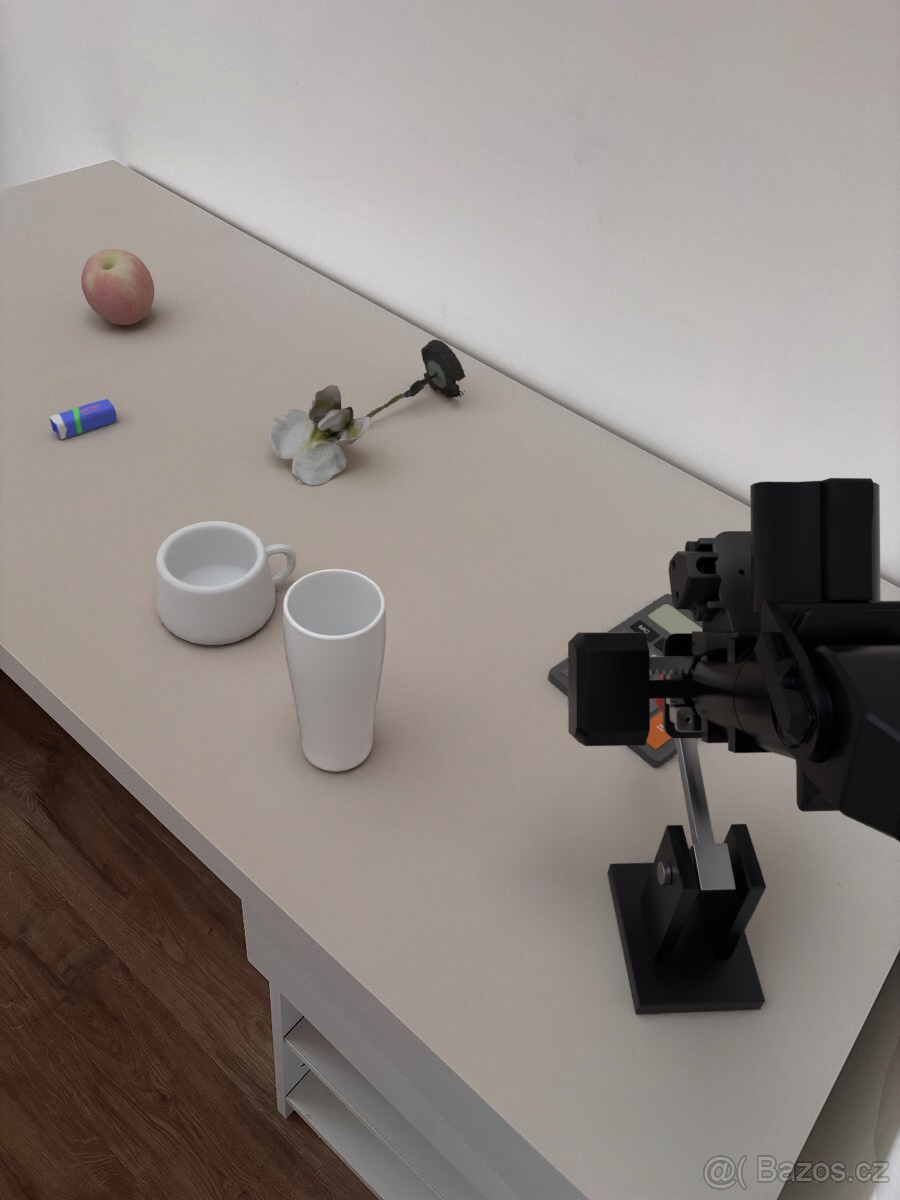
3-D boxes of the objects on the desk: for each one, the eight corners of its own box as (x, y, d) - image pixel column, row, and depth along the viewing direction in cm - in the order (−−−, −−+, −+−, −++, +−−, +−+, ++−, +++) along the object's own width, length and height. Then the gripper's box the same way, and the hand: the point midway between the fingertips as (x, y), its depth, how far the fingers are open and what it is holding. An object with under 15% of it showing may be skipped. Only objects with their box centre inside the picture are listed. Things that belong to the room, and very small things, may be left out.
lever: (644, 682, 72) (655, 660, 69) (689, 681, 72) (703, 659, 70) (679, 903, 64) (694, 888, 62) (730, 901, 65) (747, 886, 62)
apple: (77, 313, 121) (64, 247, 116) (140, 297, 125) (130, 232, 119) (106, 345, 117) (94, 277, 111) (170, 327, 120) (161, 261, 115)
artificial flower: (477, 421, 113) (495, 357, 105) (303, 517, 104) (307, 455, 95) (426, 366, 116) (439, 299, 107) (252, 455, 107) (251, 390, 98)
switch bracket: (607, 872, 73) (633, 787, 66) (720, 869, 73) (757, 785, 67) (635, 1014, 65) (668, 935, 59) (760, 1009, 66) (807, 930, 59)
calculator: (547, 669, 84) (668, 590, 92) (546, 677, 85) (666, 598, 93) (658, 761, 78) (778, 668, 86) (656, 768, 79) (774, 676, 87)
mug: (179, 664, 84) (170, 610, 80) (143, 588, 90) (133, 534, 86) (319, 620, 88) (318, 566, 84) (276, 550, 94) (273, 497, 90)
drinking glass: (395, 726, 81) (402, 582, 70) (361, 795, 76) (363, 651, 66) (313, 701, 82) (308, 556, 72) (275, 766, 77) (263, 621, 67)
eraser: (52, 431, 105) (48, 414, 103) (110, 414, 108) (107, 397, 106) (59, 441, 104) (55, 424, 102) (118, 424, 106) (115, 407, 105)
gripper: (967, 534, 53) (827, 552, 69) (602, 532, 51) (543, 551, 67) (969, 756, 53) (829, 724, 68) (603, 762, 51) (544, 728, 67)
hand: (688, 678), depth 68 cm, fingers closed
